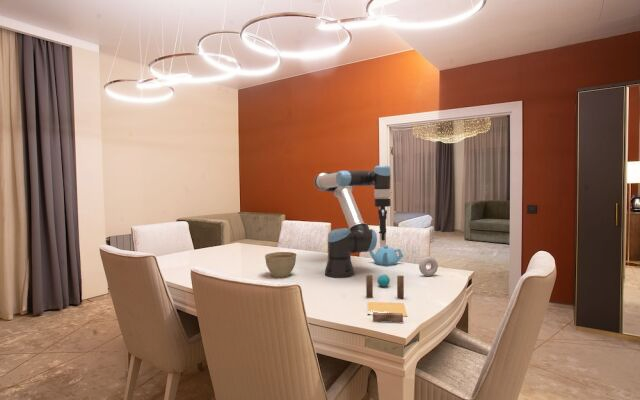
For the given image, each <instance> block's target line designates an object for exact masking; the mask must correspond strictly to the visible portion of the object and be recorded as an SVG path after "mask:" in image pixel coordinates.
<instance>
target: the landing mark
mask: <svg viewBox="0 0 640 400" xmlns="http://www.w3.org/2000/svg"><path fill="white" fill-rule="evenodd" d="M371 310H372V312H373V310H374V311H378V312H379V311H380V312H384V311H385V312H386V311H387V313H388V312H389V313H402V314H403V317H408V314H407V310H406V306H405V302H384V301H383V302H380V301H368V302H367V310H366V311H370V312H371Z"/></svg>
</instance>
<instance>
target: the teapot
mask: <svg viewBox="0 0 640 400" xmlns="http://www.w3.org/2000/svg"><path fill="white" fill-rule="evenodd" d="M368 252H369V254H370V257H372V260H373V261H374V263H375V265H378V266H384V267H385V266H386V267H389V266H390V267H391V266H395V265H397V264H398V262H399V261H400V260H401V259H402V258H403V257H404V255H403V252H402V249H401V248H395V249H394V248H392V247H389V245H388V244H386V247H379V248H378V249H377V250H376V252H375V253H374V252H373V250H372V251H368ZM396 252H398V255H397V253H396Z"/></svg>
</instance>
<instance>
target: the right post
mask: <svg viewBox="0 0 640 400" xmlns="http://www.w3.org/2000/svg"><path fill="white" fill-rule="evenodd" d="M396 277H397V278H396V279H397V281H396V285H397V286H396V288H397V289H396V294H397V295H396V298H397V299H399V300H403V299H404V298H405V296H404V295H405V294H404V293H405V289H404V288H405V286H404V285H405V283H404V282H405V276H404V275H401V274H400V275H397V276H396Z"/></svg>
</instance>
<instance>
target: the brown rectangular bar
mask: <svg viewBox="0 0 640 400" xmlns="http://www.w3.org/2000/svg"><path fill="white" fill-rule="evenodd" d="M373 321H392V322H391V323H398V322H403V323H404V316H403V314H402V313H378V312H373V315H372V322H373Z"/></svg>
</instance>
